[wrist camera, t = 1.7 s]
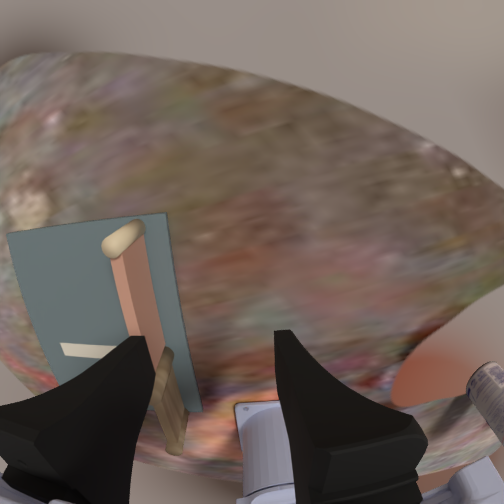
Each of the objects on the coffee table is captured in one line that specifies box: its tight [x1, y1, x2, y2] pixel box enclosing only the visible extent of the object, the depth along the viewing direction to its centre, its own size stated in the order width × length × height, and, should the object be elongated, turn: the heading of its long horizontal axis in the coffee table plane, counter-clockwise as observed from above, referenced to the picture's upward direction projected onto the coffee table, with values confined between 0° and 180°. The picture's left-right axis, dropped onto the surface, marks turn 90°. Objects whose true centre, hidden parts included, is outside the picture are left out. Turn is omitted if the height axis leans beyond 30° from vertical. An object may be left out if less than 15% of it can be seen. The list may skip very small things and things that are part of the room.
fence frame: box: [149, 346, 189, 456], centre depth 21 cm, size 2×8×5 cm, turn 4°
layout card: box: [6, 212, 203, 412], centre depth 22 cm, size 15×18×1 cm
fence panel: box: [101, 219, 166, 372], centre depth 18 cm, size 10×1×4 cm, turn 4°
